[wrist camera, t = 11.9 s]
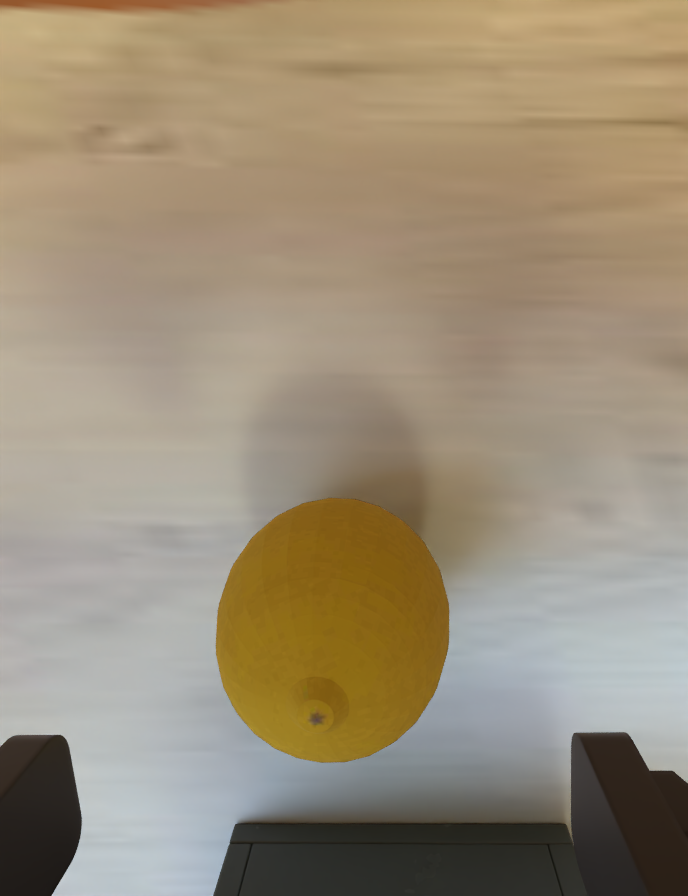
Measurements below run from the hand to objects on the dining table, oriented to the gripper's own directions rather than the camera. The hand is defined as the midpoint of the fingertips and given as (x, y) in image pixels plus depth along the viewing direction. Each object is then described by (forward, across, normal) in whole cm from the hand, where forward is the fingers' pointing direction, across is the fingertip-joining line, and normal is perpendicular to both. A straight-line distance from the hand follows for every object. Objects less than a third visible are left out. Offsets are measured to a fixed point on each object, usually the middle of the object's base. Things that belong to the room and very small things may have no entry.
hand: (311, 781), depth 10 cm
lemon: (+10, 0, 0) cm, 10 cm away
